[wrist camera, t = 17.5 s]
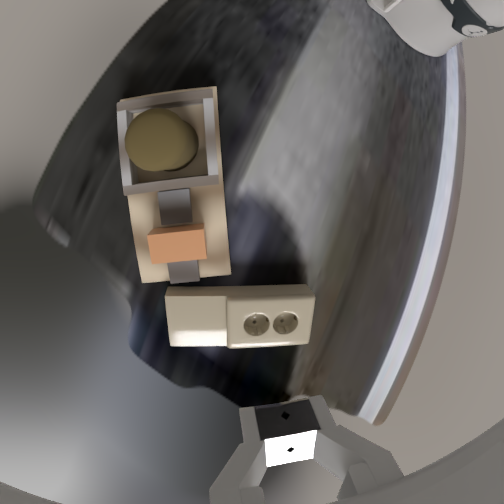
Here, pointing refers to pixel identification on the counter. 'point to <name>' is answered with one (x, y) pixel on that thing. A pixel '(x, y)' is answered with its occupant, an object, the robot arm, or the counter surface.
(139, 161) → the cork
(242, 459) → the robot arm
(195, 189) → the rail panel
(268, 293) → the electrical outlet
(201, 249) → the block
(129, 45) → the counter surface
